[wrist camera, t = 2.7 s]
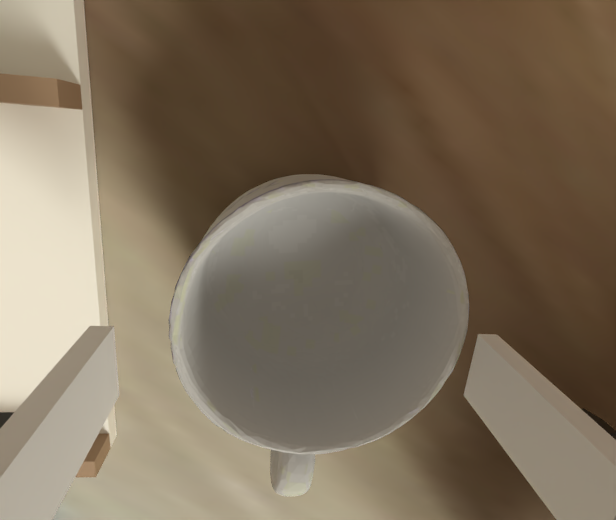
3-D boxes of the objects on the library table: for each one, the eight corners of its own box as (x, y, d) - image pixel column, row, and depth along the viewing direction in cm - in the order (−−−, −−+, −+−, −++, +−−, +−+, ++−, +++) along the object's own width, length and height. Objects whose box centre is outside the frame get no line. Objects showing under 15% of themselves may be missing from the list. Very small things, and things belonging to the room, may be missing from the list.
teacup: (240, 130, 19) (222, 127, 11) (437, 206, 21) (532, 246, 14) (165, 372, 23) (113, 492, 15) (340, 416, 25) (372, 543, 17)
